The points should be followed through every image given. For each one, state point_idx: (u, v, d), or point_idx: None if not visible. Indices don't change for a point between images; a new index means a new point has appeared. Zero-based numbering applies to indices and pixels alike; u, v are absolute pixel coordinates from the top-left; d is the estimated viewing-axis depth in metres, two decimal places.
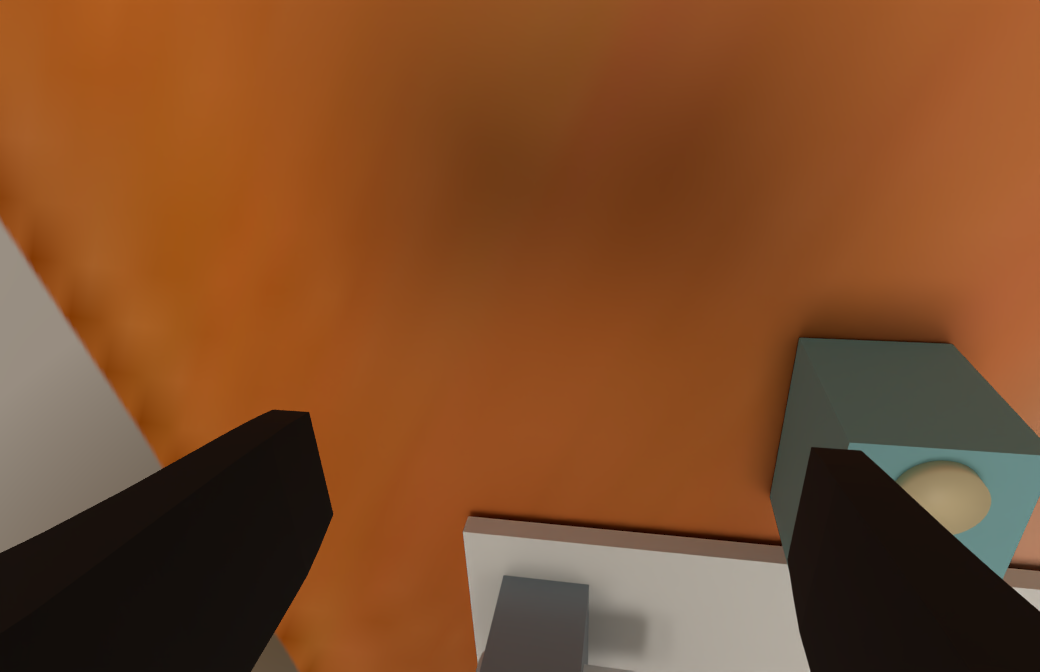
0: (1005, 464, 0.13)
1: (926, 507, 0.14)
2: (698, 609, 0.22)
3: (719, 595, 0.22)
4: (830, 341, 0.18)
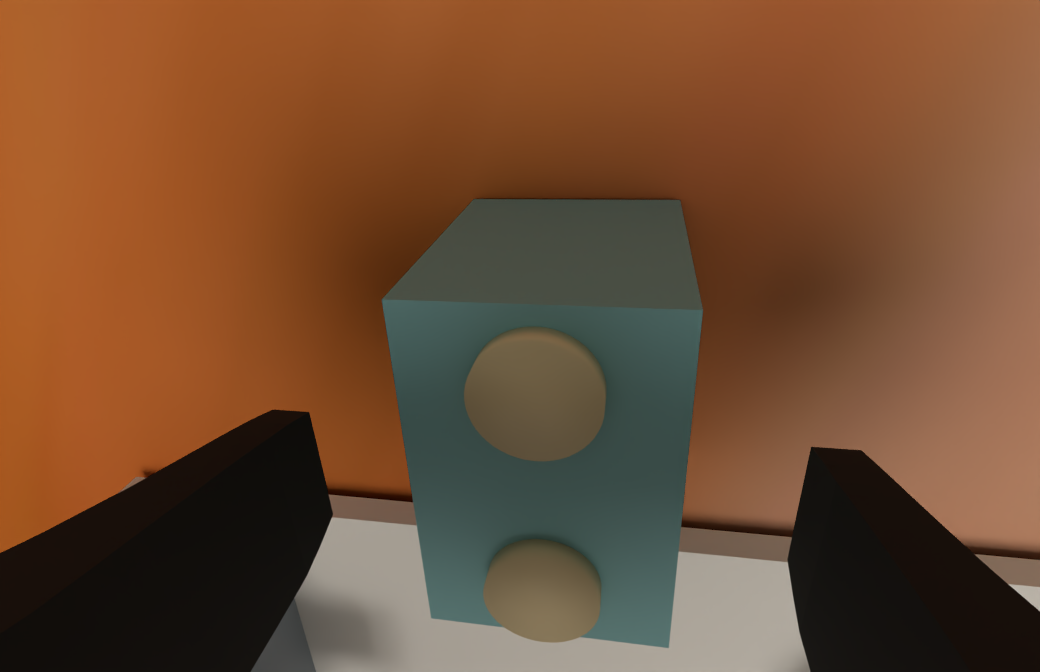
0: (629, 330, 0.08)
1: (510, 409, 0.08)
2: (424, 598, 0.17)
3: None
4: (511, 201, 0.12)
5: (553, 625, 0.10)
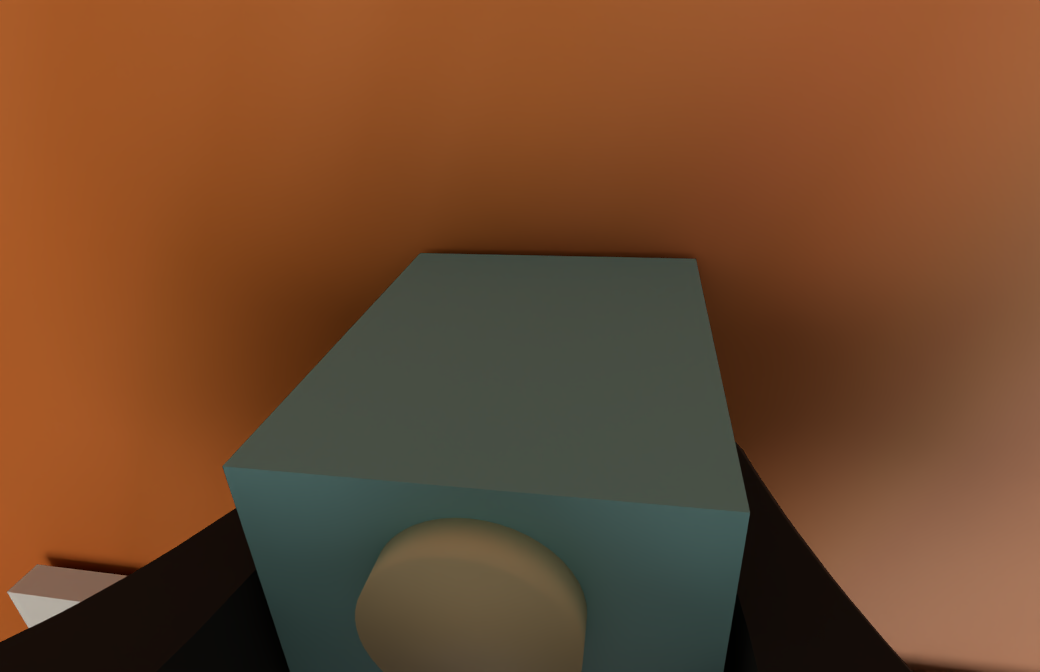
0: (623, 531, 0.05)
1: (429, 646, 0.05)
2: None
3: None
4: (468, 258, 0.09)
5: None
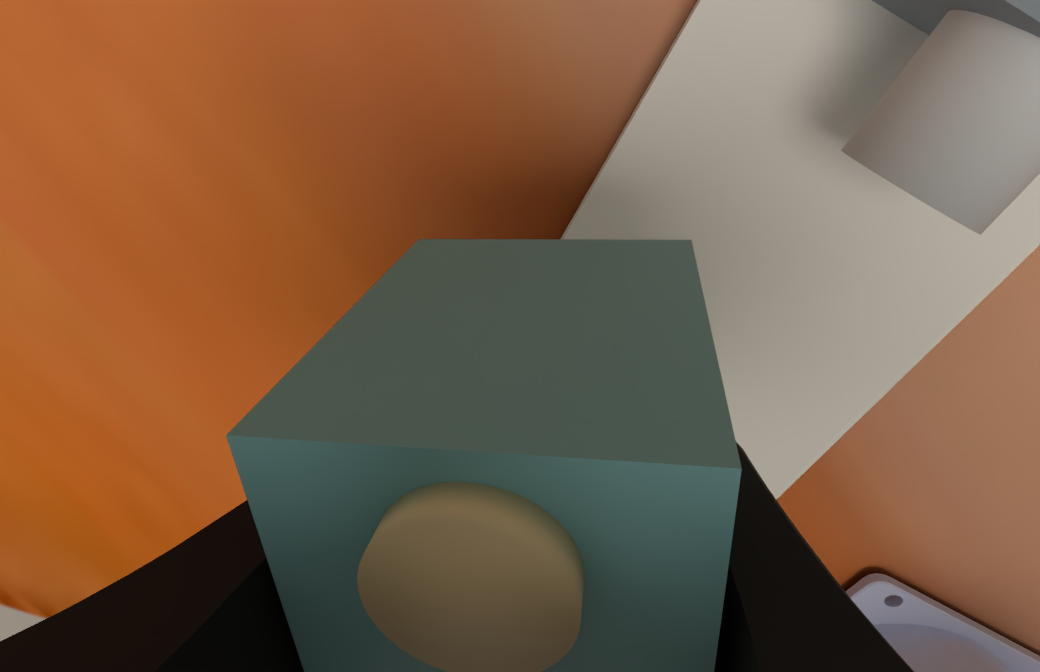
0: (618, 491, 0.05)
1: (430, 608, 0.05)
2: None
3: None
4: (466, 243, 0.09)
5: None
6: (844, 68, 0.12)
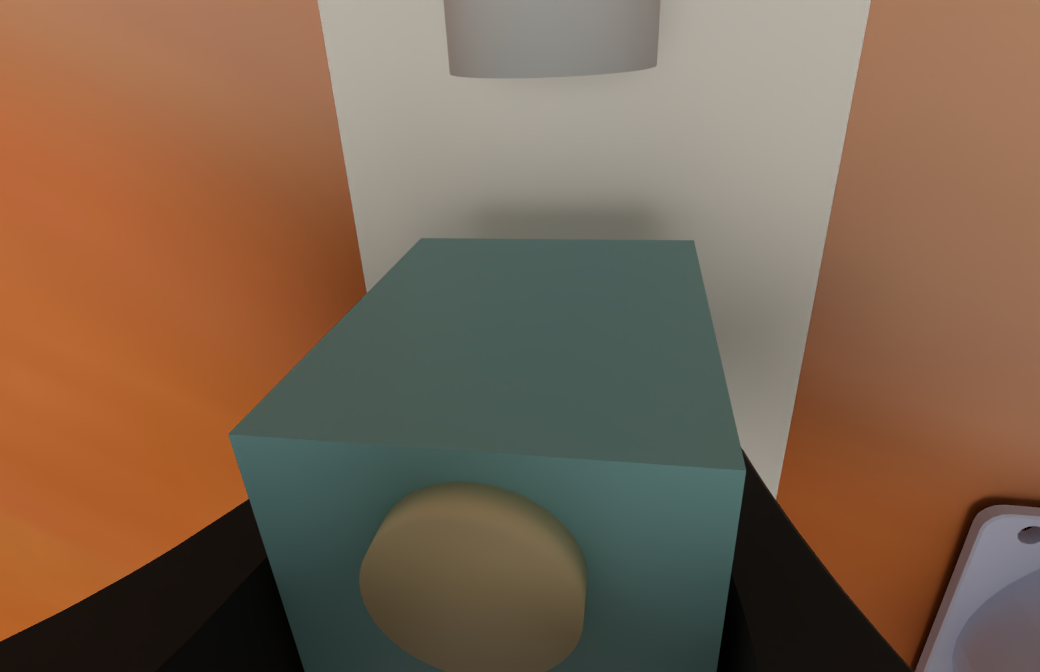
0: (622, 493, 0.05)
1: (433, 609, 0.05)
2: None
3: None
4: (469, 243, 0.09)
5: None
6: None
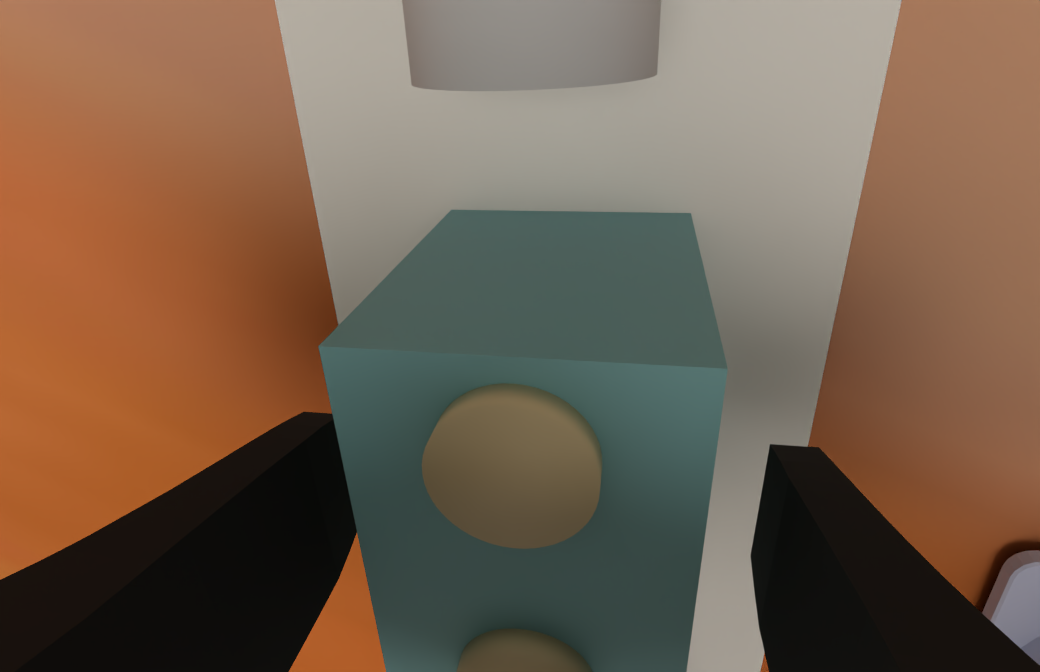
0: (631, 390, 0.06)
1: (479, 486, 0.06)
2: None
3: None
4: (494, 214, 0.10)
5: None
6: None
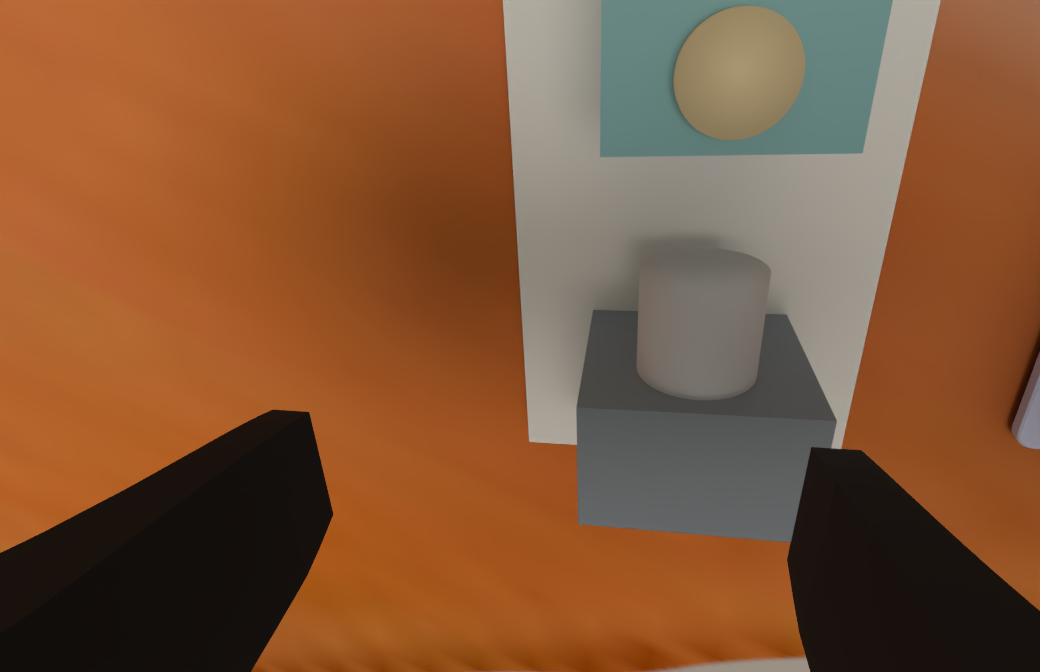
0: None
1: None
2: (619, 163, 0.15)
3: (585, 136, 0.15)
4: None
5: (747, 110, 0.09)
6: None
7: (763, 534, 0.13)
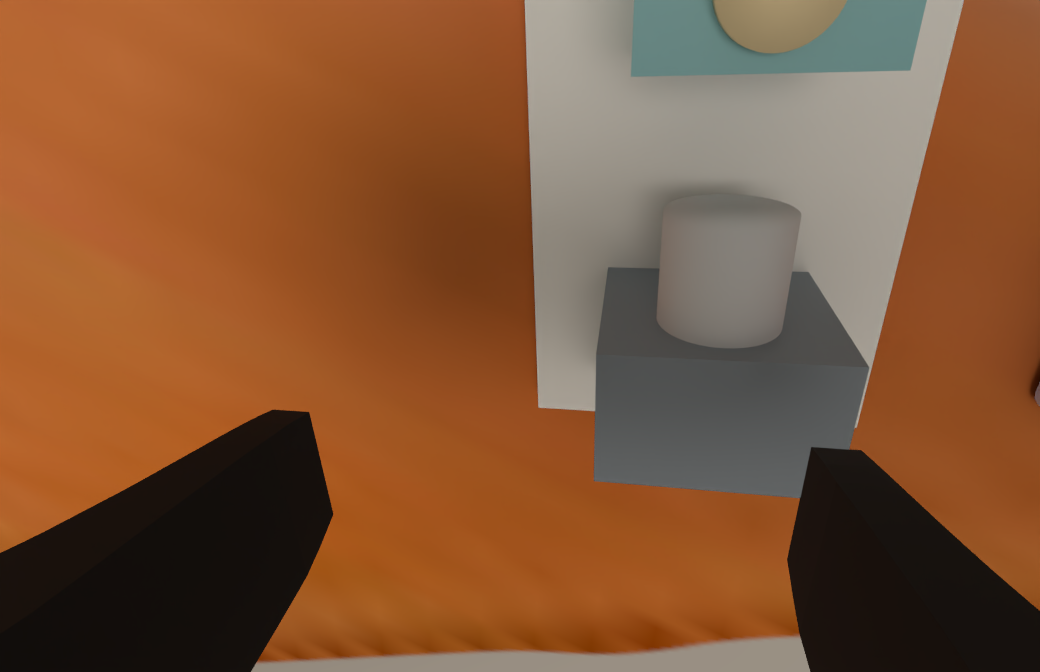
0: None
1: None
2: (639, 110, 0.15)
3: (604, 81, 0.14)
4: None
5: (792, 20, 0.09)
6: None
7: (787, 491, 0.13)
